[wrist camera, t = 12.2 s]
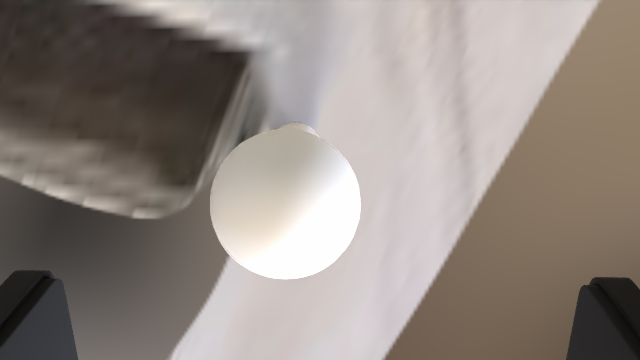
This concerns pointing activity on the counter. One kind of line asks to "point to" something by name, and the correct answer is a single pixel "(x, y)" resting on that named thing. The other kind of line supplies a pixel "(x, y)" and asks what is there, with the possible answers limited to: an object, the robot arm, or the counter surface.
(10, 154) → the counter surface
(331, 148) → the lightbulb
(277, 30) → the counter surface
